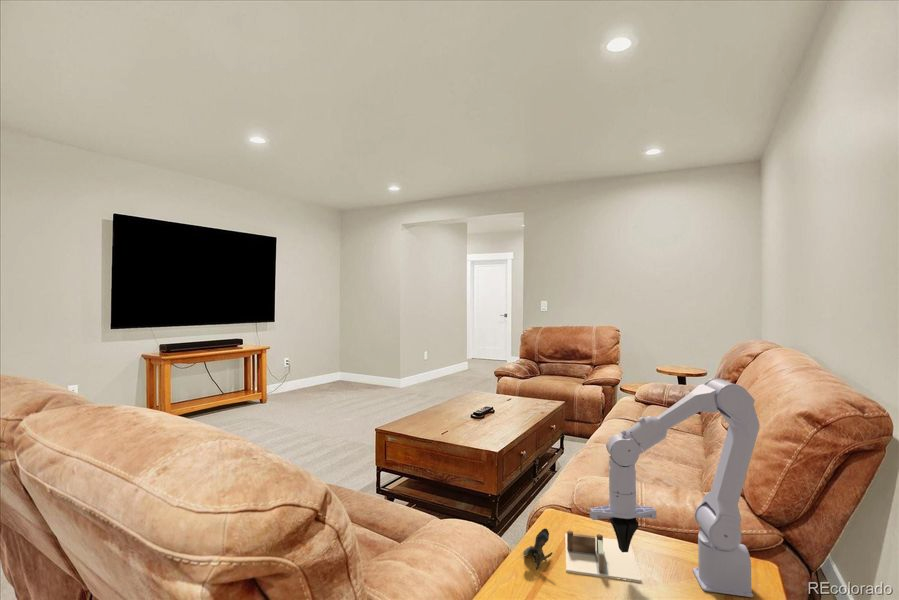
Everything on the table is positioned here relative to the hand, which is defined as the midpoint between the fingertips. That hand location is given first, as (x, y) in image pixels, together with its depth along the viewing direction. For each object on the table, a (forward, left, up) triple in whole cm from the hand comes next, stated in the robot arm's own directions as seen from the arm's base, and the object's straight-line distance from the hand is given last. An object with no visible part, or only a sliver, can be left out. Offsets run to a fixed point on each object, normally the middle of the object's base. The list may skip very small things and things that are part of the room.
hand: (623, 550), depth 101 cm
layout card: (+5, -6, -5) cm, 9 cm away
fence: (+8, -6, -5) cm, 11 cm away
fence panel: (+5, -1, -4) cm, 7 cm away
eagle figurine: (+19, 0, -5) cm, 20 cm away
